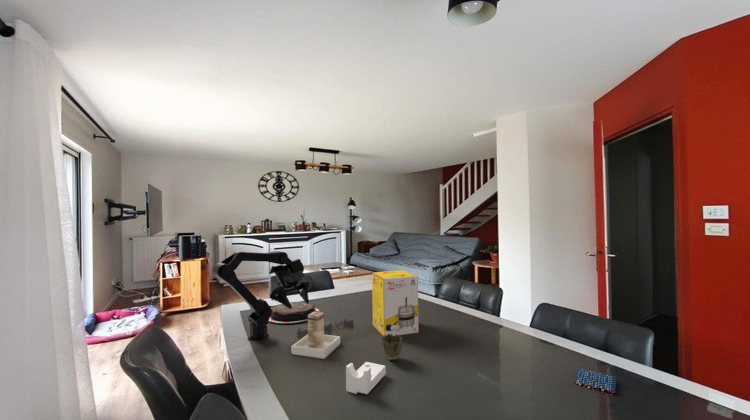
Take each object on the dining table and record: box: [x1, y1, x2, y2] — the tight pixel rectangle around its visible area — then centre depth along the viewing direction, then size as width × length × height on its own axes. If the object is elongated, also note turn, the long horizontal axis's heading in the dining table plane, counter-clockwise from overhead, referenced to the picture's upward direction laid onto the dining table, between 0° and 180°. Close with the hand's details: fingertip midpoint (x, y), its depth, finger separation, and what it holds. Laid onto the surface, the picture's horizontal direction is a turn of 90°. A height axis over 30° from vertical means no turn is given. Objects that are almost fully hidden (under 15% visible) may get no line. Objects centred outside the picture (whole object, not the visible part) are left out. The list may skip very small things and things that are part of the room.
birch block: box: [307, 311, 325, 349], centre depth 125 cm, size 5×5×13 cm
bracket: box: [345, 361, 387, 395], centre depth 100 cm, size 13×7×8 cm, turn 154°
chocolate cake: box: [268, 301, 321, 325], centre depth 167 cm, size 28×28×7 cm
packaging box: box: [371, 269, 420, 337], centre depth 146 cm, size 16×16×25 cm
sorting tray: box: [290, 334, 341, 360], centre depth 125 cm, size 14×14×3 cm
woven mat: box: [573, 367, 617, 394], centre depth 98 cm, size 10×11×2 cm
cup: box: [381, 334, 403, 362], centre depth 116 cm, size 8×7×8 cm
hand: (299, 305), depth 138 cm, fingers open, 9 cm apart
